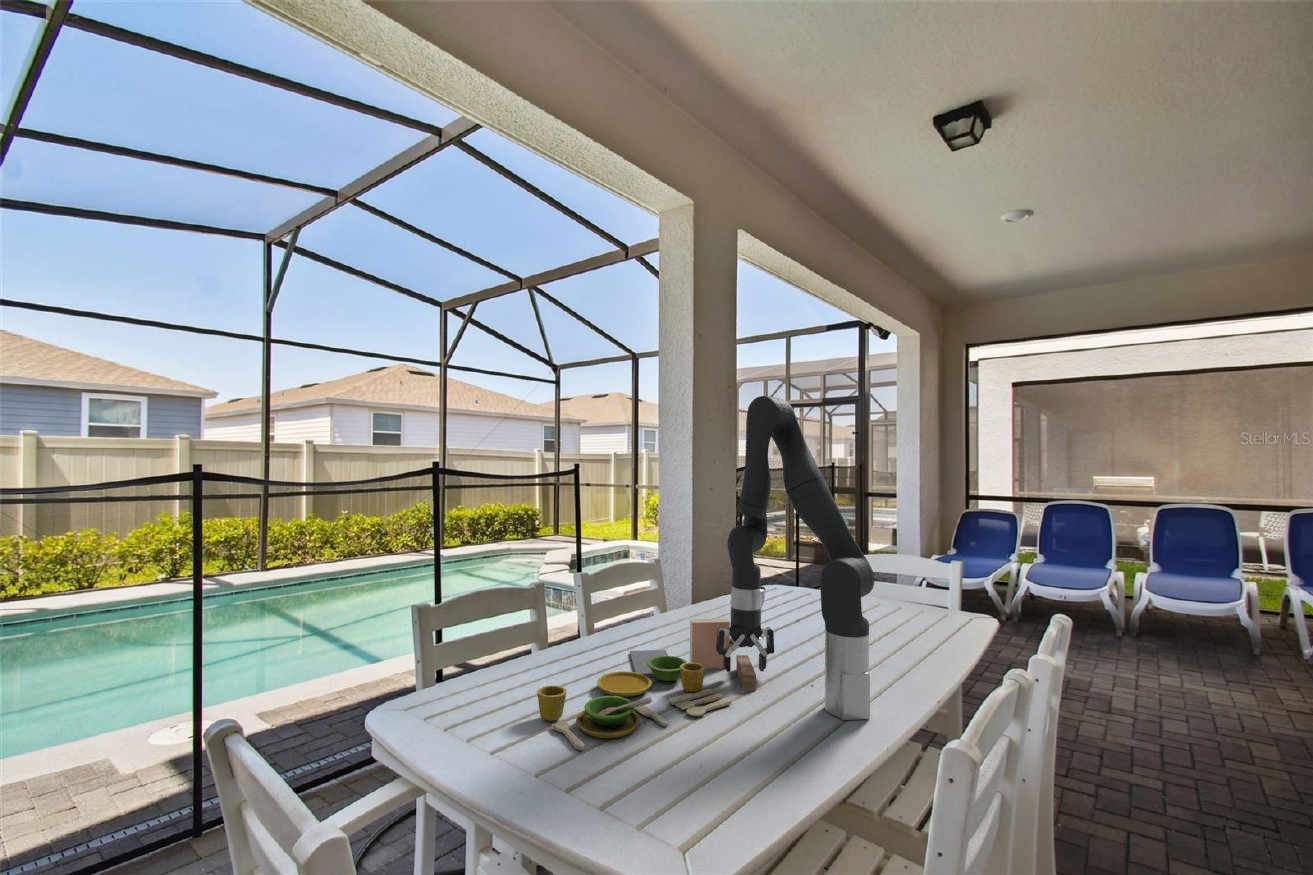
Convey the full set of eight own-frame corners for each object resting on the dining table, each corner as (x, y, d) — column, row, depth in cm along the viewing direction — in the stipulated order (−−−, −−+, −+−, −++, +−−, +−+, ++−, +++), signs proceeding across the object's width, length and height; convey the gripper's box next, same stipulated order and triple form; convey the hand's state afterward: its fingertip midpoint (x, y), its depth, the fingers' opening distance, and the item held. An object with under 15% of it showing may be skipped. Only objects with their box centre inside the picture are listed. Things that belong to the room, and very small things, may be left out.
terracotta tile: (729, 668, 154) (729, 621, 155) (691, 669, 153) (692, 622, 153) (726, 664, 157) (726, 618, 158) (689, 665, 156) (690, 619, 156)
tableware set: (572, 756, 107) (573, 721, 107) (517, 700, 130) (517, 672, 130) (741, 704, 131) (741, 675, 131) (668, 664, 154) (669, 640, 154)
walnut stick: (755, 692, 139) (756, 675, 139) (743, 691, 139) (743, 674, 139) (747, 670, 153) (748, 655, 153) (736, 670, 153) (736, 655, 153)
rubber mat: (675, 676, 148) (675, 672, 148) (636, 677, 147) (636, 674, 147) (665, 652, 166) (665, 649, 166) (630, 653, 165) (630, 650, 165)
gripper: (721, 609, 142) (720, 677, 142) (778, 608, 144) (777, 675, 144) (714, 601, 150) (713, 666, 149) (768, 601, 152) (767, 664, 151)
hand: (744, 670), depth 146 cm, fingers open, 8 cm apart
